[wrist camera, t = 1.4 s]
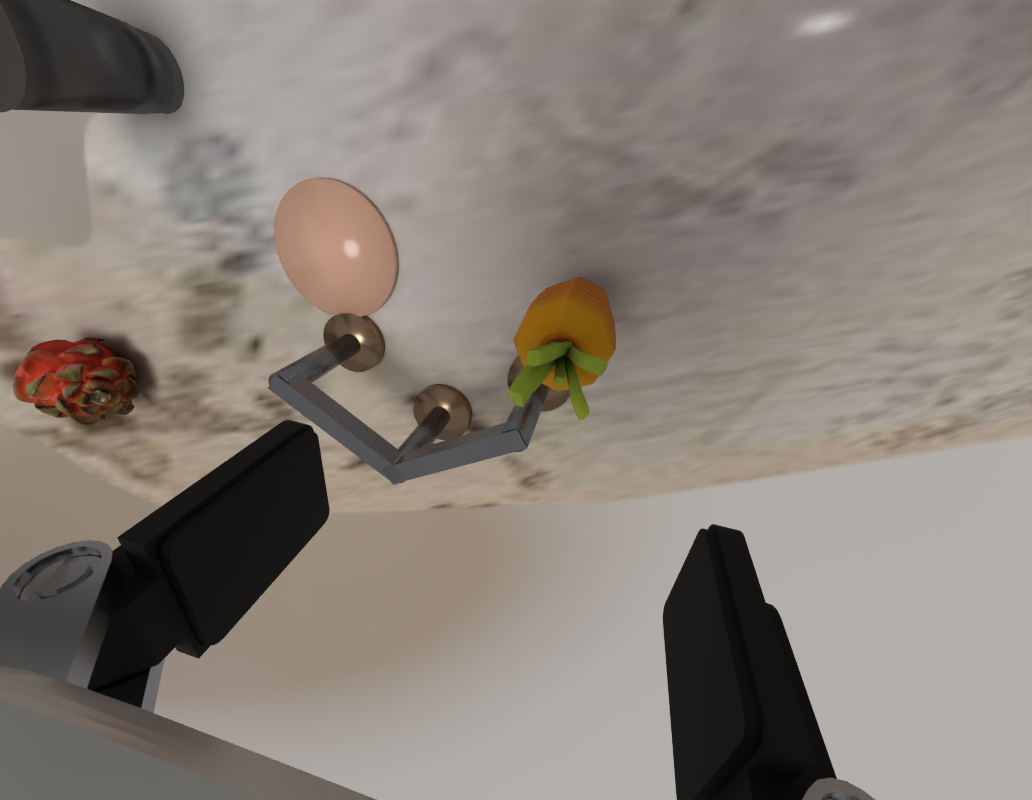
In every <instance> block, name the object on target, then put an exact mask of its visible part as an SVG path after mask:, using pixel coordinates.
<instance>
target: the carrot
mask: <svg viewBox="0 0 1032 800" xmlns="http://www.w3.org/2000/svg"><path fill="white" fill-rule="evenodd" d="M514 343H515V346H516V348H517V351H518V354H519V356H520V359H521V362H522V365H523V367H524V368H523V370H522V371H521V372H520V373H519V374H518V376H517V377H516V379H515V380H514V382H513V383H512V385H511V386H510V388H509V392H508V396H509V399H510V401H511V402H513V403H514V404H515V405H516V406H520V407H524V405H525V404H526V402H527V401H528V399H529V398H530V396H531V395H532V393H533V392H534V391H535V390H536V389H537V388H538V387H539V386H540V385H541V383H542V384H544V385H546V386H548V387H550V388H552V389H554V390H556V391H557V392H558V391H563V390H567V389H569V392H570V397H571V402H572V404H573V407H574V410H575V412H576V414H577V416H578V418H579V420H582V419H584V418H586V417H587V416H588V415H589V411H590V410H589V408H588V405H587V402H586V400H585V398H584V395H583V393H582V389H581V386H585V385H590V384H593V383H594V382H595V381H596V379H597V378H598V376H599V375H602V374H603V373H604V371H605V370H606V367H607V362H608V361H609V359H610V358H611V356H612V355H613V353H614V351H615V349H616V335H615V324H614V320H613V317H612V313H611V309H610V305H609V301H608V298H607V294H606V292H605V291H604V290H603V289H602V288H601V287H599V286H597V285H595V284H593V283H591V282H589V281H587V280H586V279H584V278H582V277H579V278H576V279H573V280H570V281H567V282H564V283H560V284H557V285H554V286H551V287H549V288H546V289H545V290H544V291H543V292H542V293H541V294H540V295H539V296H538V297H537V298H536V299H535V300H534V301H533V302H532V303H531V305H530V307H529V309H528V311H527V313H526V315H525V317H524V319H523V321H522V323H521V325H520V328H519V330H518V332H517V334H516V336H515V338H514Z"/></svg>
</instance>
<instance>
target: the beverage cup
mask: <svg viewBox="0 0 1032 800" xmlns="http://www.w3.org/2000/svg"><path fill="white" fill-rule="evenodd" d="M182 99H183V80H182V76H181V72H180V69H179V67H178V65H177V62H176V60H175V58H174V57H173V55H172V54H171V52H170V50H169V49H168V48H167V47H166V46H165V45H164V44H163V43H162V42H161V41H160V40H159V39H158V38H156V37H155V36H153V35H151V34H149V33H146V32H143V31H141V30H139V29H137V28H134V27H132V26H130V25H128V24H127V23H125V22H123V21H120V20H118V19H115V18H113V17H110V16H108V15H105V14H103V13H101V12H98V11H96V10H93V9H91V8H88V7H86V6H83V5H81V4H78V3H76V2H73V1H71V0H0V112H6V111H9V110H12V109H13V110H41V111H71V112H99V113H129V114H150V113H167V114H169V113H172V112H175V111H176V110H177V109H178V108H179V107H180V105H181V102H182Z"/></svg>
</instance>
